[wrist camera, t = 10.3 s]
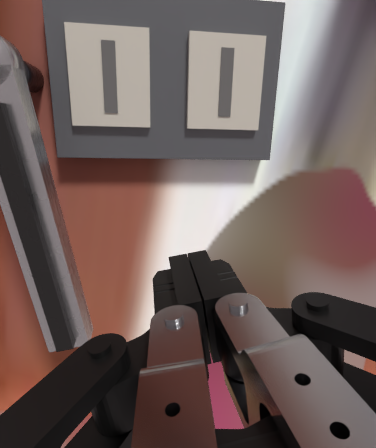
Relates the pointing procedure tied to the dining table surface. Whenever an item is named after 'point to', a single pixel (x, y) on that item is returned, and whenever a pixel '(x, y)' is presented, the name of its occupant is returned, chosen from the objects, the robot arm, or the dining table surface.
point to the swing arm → (37, 213)
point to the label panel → (163, 77)
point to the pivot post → (33, 77)
